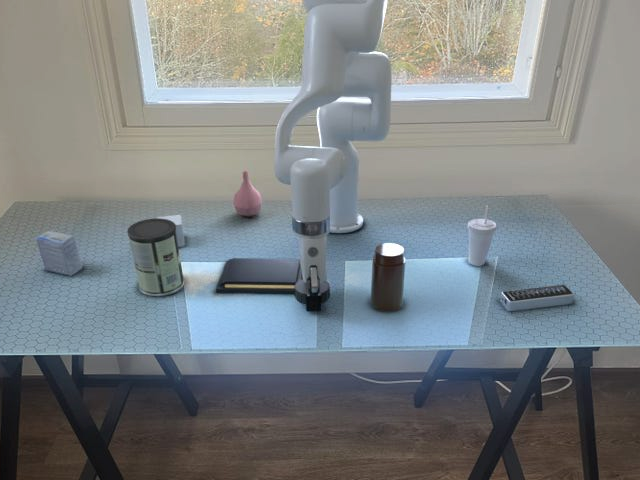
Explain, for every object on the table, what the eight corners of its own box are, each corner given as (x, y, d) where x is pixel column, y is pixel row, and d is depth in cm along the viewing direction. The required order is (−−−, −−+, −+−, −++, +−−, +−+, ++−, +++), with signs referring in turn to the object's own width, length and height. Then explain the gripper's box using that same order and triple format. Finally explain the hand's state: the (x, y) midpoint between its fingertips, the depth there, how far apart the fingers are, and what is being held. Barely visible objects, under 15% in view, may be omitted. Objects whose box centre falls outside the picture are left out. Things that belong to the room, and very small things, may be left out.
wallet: (310, 256, 152) (303, 288, 140) (310, 263, 154) (303, 295, 141) (227, 253, 154) (213, 285, 142) (227, 260, 156) (214, 292, 143)
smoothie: (491, 269, 149) (500, 212, 141) (462, 267, 150) (470, 210, 142) (490, 256, 154) (499, 201, 146) (462, 255, 155) (470, 199, 147)
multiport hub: (572, 303, 136) (575, 294, 135) (508, 311, 134) (510, 302, 133) (562, 293, 140) (564, 284, 138) (499, 300, 138) (501, 291, 136)
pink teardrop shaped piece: (238, 208, 181) (234, 166, 174) (264, 209, 180) (262, 167, 173) (232, 220, 175) (227, 177, 168) (259, 221, 174) (256, 177, 167)
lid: (320, 285, 141) (320, 274, 140) (335, 300, 136) (335, 290, 134) (289, 292, 139) (289, 281, 138) (303, 308, 134) (302, 297, 132)
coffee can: (153, 271, 152) (142, 215, 144) (192, 277, 149) (184, 221, 141) (129, 293, 144) (117, 234, 136) (170, 299, 141) (160, 240, 133)
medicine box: (83, 268, 154) (74, 235, 149) (70, 277, 151) (61, 243, 146) (57, 262, 157) (48, 229, 152) (44, 271, 154) (34, 237, 148)
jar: (364, 305, 138) (366, 251, 130) (380, 292, 142) (383, 239, 134) (392, 315, 134) (395, 260, 127) (408, 301, 139) (412, 247, 131)
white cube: (161, 249, 162) (157, 226, 158) (160, 239, 166) (156, 217, 163) (185, 246, 162) (181, 224, 159) (183, 236, 167) (180, 214, 164)
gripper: (334, 241, 121) (333, 321, 131) (326, 205, 135) (326, 280, 145) (294, 243, 121) (297, 323, 131) (290, 207, 135) (293, 281, 145)
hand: (312, 300), depth 138 cm, fingers closed on lid, 7 cm apart
